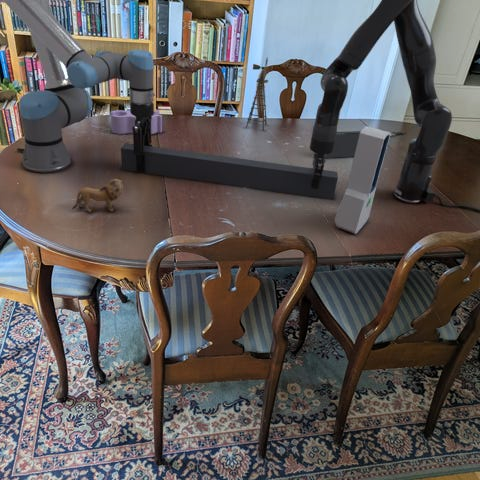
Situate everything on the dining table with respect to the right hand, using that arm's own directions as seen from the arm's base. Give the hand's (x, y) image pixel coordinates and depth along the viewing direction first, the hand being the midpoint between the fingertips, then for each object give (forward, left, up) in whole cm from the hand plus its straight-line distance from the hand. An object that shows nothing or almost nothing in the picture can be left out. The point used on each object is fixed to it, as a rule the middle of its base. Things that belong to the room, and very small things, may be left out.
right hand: (314, 184), depth 158 cm
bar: (+29, -6, -3) cm, 30 cm away
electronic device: (-8, +20, -3) cm, 22 cm away
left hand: (+58, -12, -3) cm, 59 cm away
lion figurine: (+68, +16, -3) cm, 70 cm away
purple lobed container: (+64, -51, -3) cm, 82 cm away
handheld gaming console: (-21, -34, -3) cm, 41 cm away
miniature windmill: (+12, -64, -3) cm, 65 cm away
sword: (-47, -59, -3) cm, 75 cm away
